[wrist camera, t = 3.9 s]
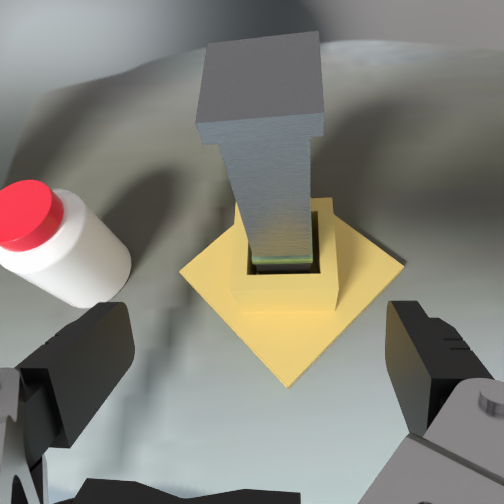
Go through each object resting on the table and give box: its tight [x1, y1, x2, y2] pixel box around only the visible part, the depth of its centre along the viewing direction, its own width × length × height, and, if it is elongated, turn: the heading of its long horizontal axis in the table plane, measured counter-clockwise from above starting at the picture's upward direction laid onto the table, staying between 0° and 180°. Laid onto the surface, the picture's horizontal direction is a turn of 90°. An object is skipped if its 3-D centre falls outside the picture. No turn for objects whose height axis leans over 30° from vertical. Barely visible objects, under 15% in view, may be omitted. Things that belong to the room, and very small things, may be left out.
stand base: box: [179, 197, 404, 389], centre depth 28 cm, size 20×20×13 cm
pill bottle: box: [0, 180, 131, 308], centre depth 32 cm, size 8×8×11 cm
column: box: [195, 31, 324, 275], centre depth 24 cm, size 6×5×19 cm
